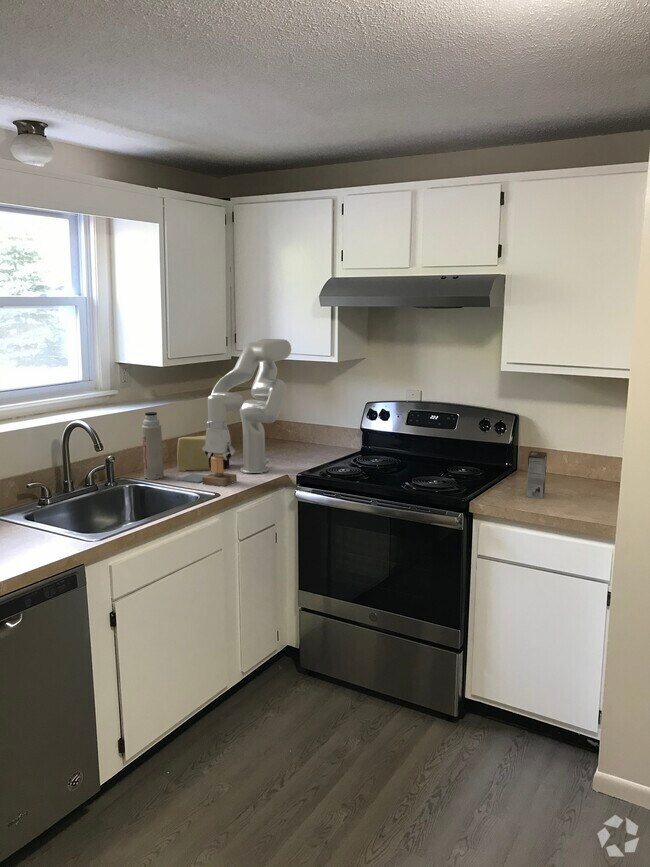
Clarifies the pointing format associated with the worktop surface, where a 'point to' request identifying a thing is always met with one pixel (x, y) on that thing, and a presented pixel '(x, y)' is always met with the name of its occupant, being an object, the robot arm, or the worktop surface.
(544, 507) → the worktop surface
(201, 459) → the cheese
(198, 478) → the mat
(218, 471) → the cap
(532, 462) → the coffee box
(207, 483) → the post stand
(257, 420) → the robot arm
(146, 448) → the thermos bottle
